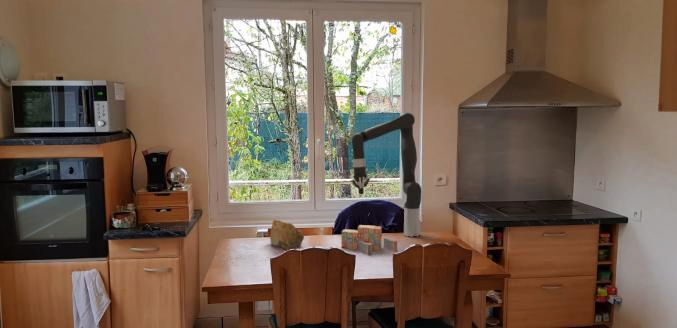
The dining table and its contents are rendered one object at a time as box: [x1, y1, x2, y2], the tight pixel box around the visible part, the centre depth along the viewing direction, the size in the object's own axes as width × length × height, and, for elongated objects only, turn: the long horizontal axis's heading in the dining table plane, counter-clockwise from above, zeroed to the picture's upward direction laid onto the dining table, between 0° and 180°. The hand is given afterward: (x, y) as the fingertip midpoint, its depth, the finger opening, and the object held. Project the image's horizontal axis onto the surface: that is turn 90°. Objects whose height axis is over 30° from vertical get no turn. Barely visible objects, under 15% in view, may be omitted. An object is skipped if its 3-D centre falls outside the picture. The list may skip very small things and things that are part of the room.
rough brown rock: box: [269, 219, 305, 251], centre depth 252 cm, size 23×17×15 cm
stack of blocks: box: [341, 224, 383, 252], centre depth 250 cm, size 21×6×12 cm, turn 75°
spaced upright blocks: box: [358, 237, 398, 256], centre depth 245 cm, size 18×10×6 cm, turn 117°
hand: (361, 194), depth 278 cm, fingers closed
